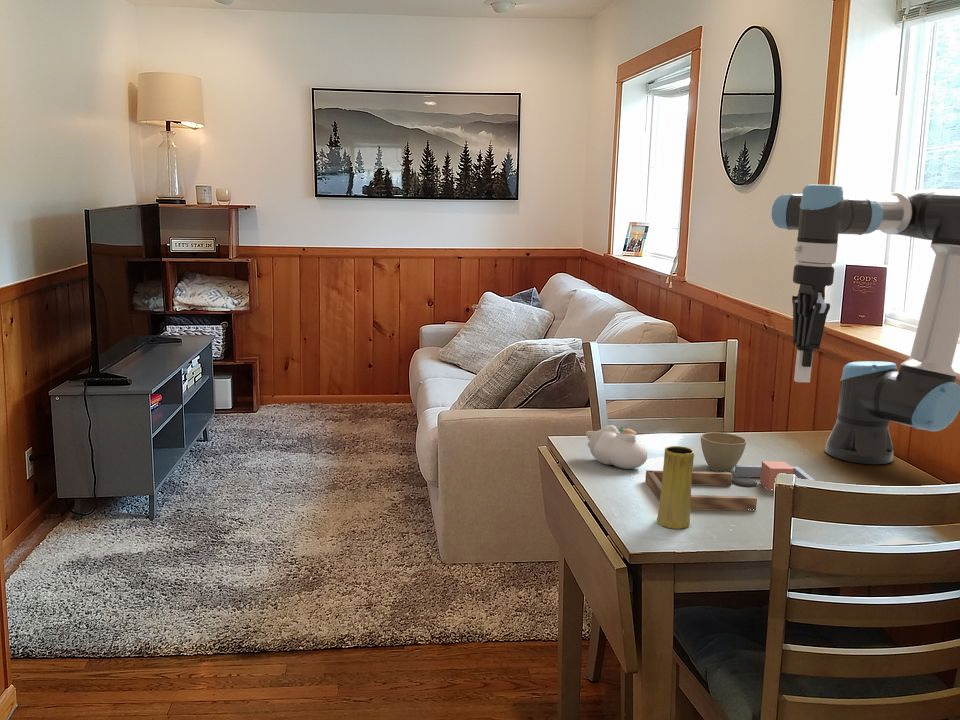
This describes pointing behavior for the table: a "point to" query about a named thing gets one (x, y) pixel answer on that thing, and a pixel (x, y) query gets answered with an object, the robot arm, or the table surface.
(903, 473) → the table surface
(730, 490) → the table surface
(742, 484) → the hole marker
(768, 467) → the cube
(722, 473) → the wooden frame
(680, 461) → the vase
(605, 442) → the white rounded lumpy piece
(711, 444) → the beige bowl
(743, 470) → the bay
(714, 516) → the table surface
